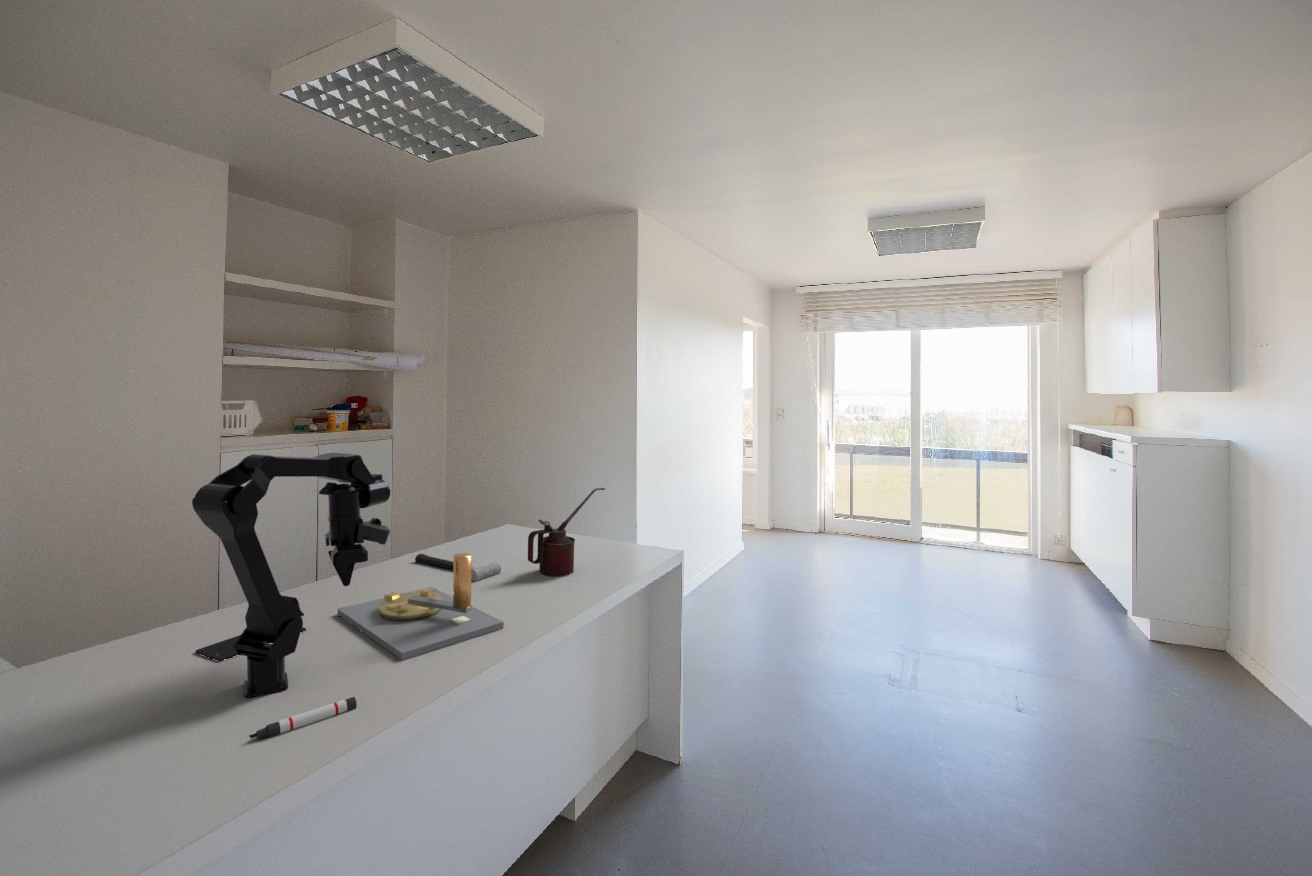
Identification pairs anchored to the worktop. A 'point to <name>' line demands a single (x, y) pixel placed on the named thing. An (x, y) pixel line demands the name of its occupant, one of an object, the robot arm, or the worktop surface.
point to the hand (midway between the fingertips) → (346, 585)
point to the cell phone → (222, 649)
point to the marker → (305, 718)
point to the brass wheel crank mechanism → (431, 596)
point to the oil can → (555, 547)
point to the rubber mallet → (475, 572)
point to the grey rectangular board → (419, 627)
